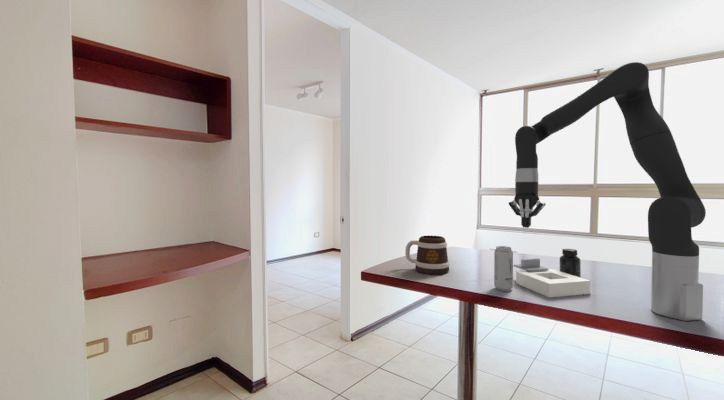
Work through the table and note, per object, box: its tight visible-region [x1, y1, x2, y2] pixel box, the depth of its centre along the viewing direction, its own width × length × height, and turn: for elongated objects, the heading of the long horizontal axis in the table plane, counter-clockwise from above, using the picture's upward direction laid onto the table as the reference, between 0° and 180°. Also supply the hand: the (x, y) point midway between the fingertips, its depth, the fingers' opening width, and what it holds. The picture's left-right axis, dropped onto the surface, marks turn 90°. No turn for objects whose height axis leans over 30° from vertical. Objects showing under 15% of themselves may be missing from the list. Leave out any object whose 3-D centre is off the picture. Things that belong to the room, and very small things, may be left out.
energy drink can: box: [493, 245, 514, 292], centre depth 109 cm, size 6×6×15 cm
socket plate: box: [515, 268, 591, 298], centre depth 110 cm, size 16×16×4 cm
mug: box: [404, 235, 451, 276], centre depth 137 cm, size 20×15×15 cm
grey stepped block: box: [513, 257, 549, 272], centre depth 119 cm, size 8×8×4 cm
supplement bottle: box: [559, 248, 582, 278], centre depth 119 cm, size 7×7×12 cm
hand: (525, 227), depth 114 cm, fingers closed
